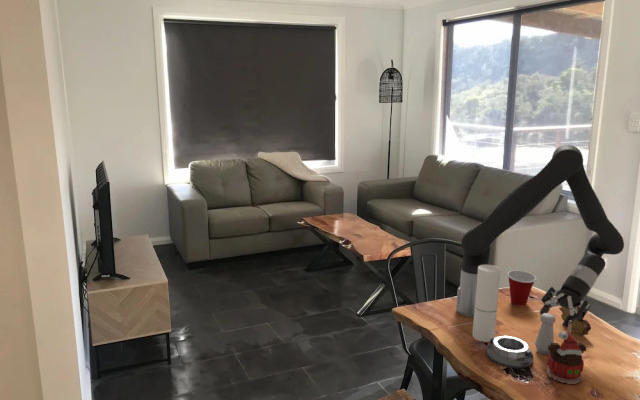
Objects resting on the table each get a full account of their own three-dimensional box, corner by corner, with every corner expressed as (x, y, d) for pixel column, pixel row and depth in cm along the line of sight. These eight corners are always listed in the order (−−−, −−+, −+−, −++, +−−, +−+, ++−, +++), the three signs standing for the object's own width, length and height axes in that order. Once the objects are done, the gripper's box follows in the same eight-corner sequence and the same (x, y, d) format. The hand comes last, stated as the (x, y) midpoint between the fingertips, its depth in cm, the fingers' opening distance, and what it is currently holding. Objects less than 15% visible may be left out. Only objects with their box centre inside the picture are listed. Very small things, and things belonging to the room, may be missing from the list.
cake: (572, 368, 156) (579, 313, 152) (589, 385, 147) (597, 328, 143) (538, 368, 156) (544, 313, 152) (553, 385, 147) (560, 328, 143)
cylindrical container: (494, 334, 177) (500, 266, 172) (493, 343, 171) (500, 273, 165) (472, 330, 180) (478, 263, 174) (471, 339, 173) (477, 270, 168)
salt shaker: (555, 357, 162) (560, 319, 160) (536, 355, 163) (540, 317, 161) (551, 348, 168) (555, 311, 165) (532, 346, 169) (536, 310, 166)
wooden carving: (594, 339, 174) (598, 312, 172) (582, 340, 173) (586, 313, 171) (564, 318, 190) (567, 293, 188) (553, 319, 189) (556, 294, 187)
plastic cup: (514, 309, 197) (517, 280, 194) (499, 298, 207) (501, 271, 205) (539, 307, 199) (542, 279, 197) (523, 296, 210) (526, 269, 207)
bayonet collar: (478, 357, 162) (479, 344, 161) (497, 341, 172) (498, 329, 171) (522, 373, 153) (524, 360, 152) (539, 356, 163) (540, 343, 162)
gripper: (556, 268, 172) (529, 306, 169) (596, 282, 160) (568, 324, 157) (565, 281, 175) (539, 318, 173) (604, 295, 163) (577, 336, 160)
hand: (552, 321), depth 165 cm, fingers open, 8 cm apart
